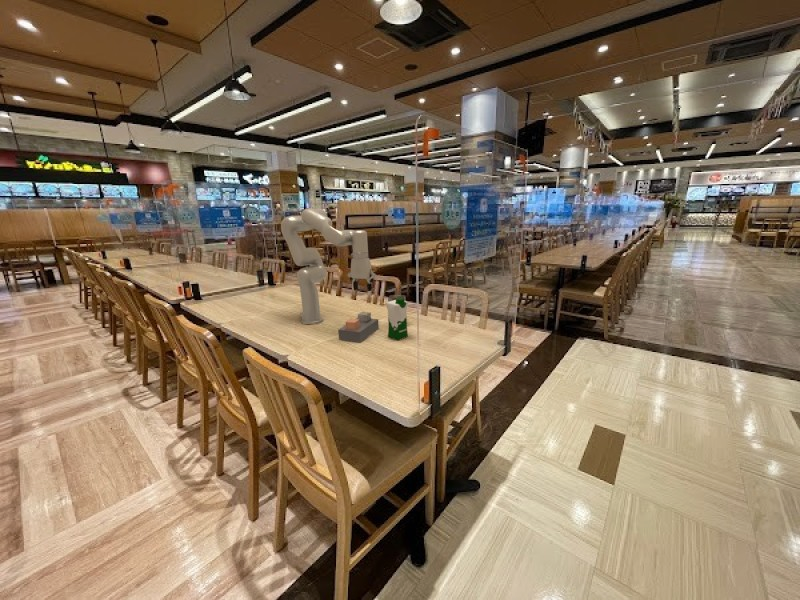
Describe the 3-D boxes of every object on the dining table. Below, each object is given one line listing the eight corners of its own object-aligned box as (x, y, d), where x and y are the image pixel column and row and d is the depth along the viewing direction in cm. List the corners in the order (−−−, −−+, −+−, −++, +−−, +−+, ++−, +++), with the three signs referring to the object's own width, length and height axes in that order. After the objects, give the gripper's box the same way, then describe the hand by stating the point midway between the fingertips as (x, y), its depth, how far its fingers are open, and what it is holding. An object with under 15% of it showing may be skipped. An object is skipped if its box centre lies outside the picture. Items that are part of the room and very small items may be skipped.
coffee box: (406, 322, 179) (405, 294, 175) (405, 326, 173) (404, 297, 169) (390, 322, 180) (389, 294, 176) (389, 326, 174) (387, 297, 169)
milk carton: (398, 341, 152) (397, 301, 147) (385, 337, 158) (383, 298, 153) (410, 336, 159) (409, 297, 153) (397, 332, 165) (396, 294, 159)
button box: (339, 339, 157) (338, 329, 155) (359, 326, 174) (358, 317, 173) (360, 342, 152) (359, 332, 151) (378, 329, 170) (378, 319, 169)
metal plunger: (358, 323, 166) (357, 314, 165) (362, 320, 171) (362, 311, 169) (366, 324, 164) (366, 315, 163) (371, 321, 169) (370, 312, 167)
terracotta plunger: (346, 331, 156) (345, 321, 154) (351, 327, 160) (350, 318, 159) (355, 332, 154) (354, 322, 152) (360, 329, 158) (359, 319, 157)
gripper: (341, 256, 158) (344, 290, 163) (372, 257, 152) (374, 293, 156) (349, 254, 165) (351, 287, 170) (379, 255, 158) (381, 289, 163)
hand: (362, 290), depth 163 cm, fingers open, 7 cm apart
